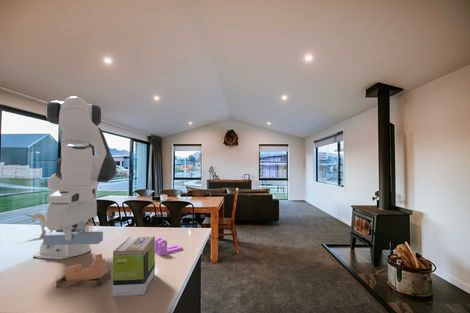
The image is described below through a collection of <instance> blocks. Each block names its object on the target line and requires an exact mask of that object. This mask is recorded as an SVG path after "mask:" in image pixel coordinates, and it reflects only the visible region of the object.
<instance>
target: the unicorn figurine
mask: <svg viewBox="0 0 470 313" xmlns="http://www.w3.org/2000/svg"><path fill="white" fill-rule="evenodd" d="M23 216H26V217H32V219H31V222H32V223H35V222H36V220H38V219H39V221H40V222H39V225H40V228H41V234H40V235H43V236H44V235H46V234H47V230H46V229H45V227H47V215H46V214H44V213H41V212H35V213H32V215H31V214H24V215H23ZM50 232H54V230H49V232H48V233H50ZM45 233H46V234H45Z"/></svg>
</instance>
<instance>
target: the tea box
mask: <svg viewBox="0 0 470 313" xmlns="http://www.w3.org/2000/svg"><path fill="white" fill-rule="evenodd" d="M155 240H156V237H155V236H136V237H135V236H134V237H131V236H129V237H128V238H126V240H125V241H124V242H122V243H121V244H120V245H119V246H118V247H116V248H115V250H113V252H112V296H113V297H131V296H143V295H145V293H146V291H147V289H148V287H149V285H150V284H151V282H152V281H153V278H154V277H155V274H156V273H155V272H156V262H155V261H156V254H155Z"/></svg>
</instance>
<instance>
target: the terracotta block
mask: <svg viewBox="0 0 470 313" xmlns="http://www.w3.org/2000/svg"><path fill="white" fill-rule="evenodd" d="M94 258H95V261H93V262H92V263H90V264H89V265H90V266H89V267H85V268H82V264H81V263H77V264H72V265H69V266H68V267H66V268H65V269H64V275H65V278H66V281H92V280H97V279H100V278H101V277H103V276H104V275H105V274H106V273H107V271H108V270H107V265H106V264H107V263H106V259H105V258H103V253H98V254H95V257H94Z"/></svg>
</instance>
